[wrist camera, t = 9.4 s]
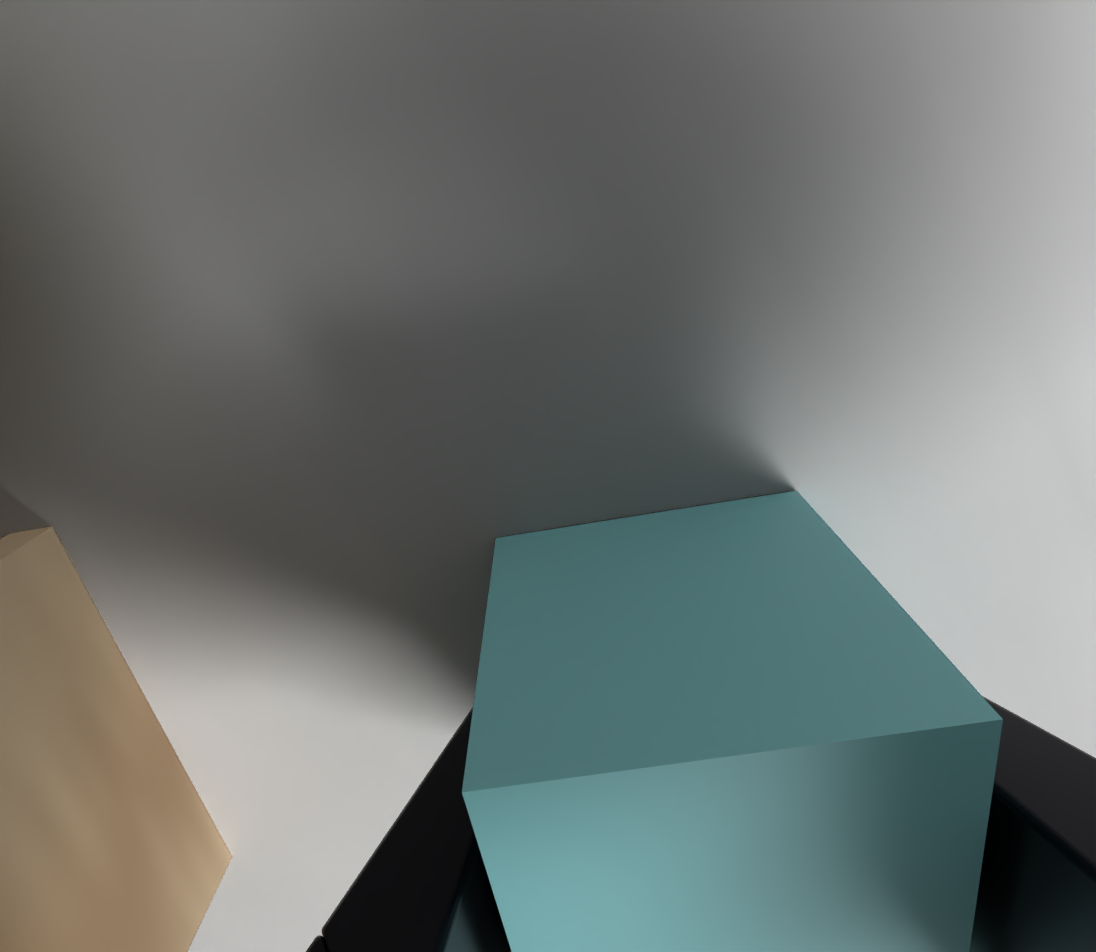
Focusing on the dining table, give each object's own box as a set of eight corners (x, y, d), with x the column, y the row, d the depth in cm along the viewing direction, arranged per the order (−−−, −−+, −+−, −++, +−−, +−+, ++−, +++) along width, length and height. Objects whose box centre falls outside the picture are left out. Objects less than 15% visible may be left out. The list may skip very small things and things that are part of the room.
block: (801, 721, 10) (956, 1031, 6) (546, 756, 10) (549, 1075, 6) (796, 490, 8) (1003, 719, 5) (495, 537, 8) (462, 792, 5)
